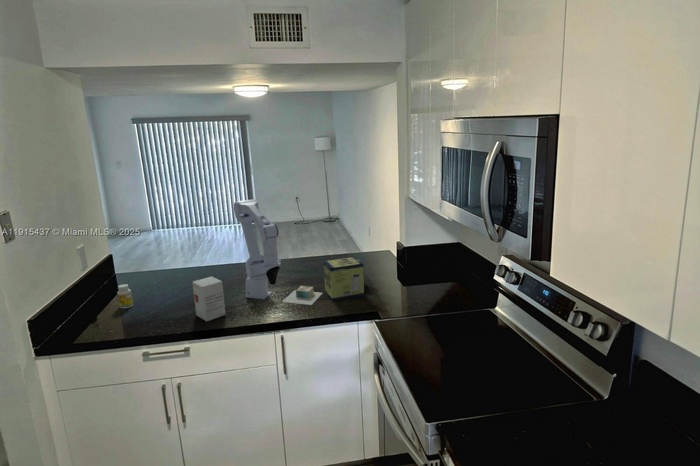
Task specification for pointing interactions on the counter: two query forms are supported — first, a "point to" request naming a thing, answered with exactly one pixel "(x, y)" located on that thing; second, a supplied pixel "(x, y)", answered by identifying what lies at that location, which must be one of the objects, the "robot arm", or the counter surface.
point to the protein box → (344, 278)
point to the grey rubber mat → (299, 300)
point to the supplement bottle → (124, 296)
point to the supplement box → (209, 298)
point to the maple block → (304, 292)
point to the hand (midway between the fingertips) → (272, 283)
